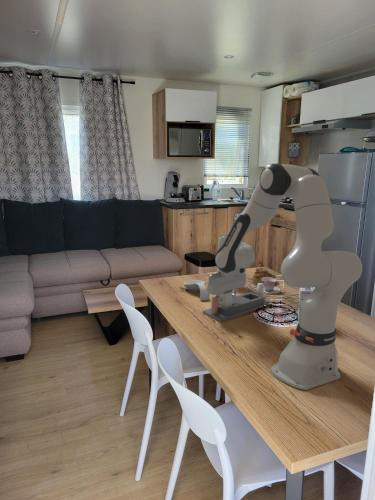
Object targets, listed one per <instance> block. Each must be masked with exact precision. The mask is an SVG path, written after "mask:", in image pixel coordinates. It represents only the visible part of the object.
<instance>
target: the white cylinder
mask: <svg viewBox="0 0 375 500" xmlns="http://www.w3.org/2000/svg"><path fill="white" fill-rule="evenodd" d="M232 293H233V290H229V291H226V292H223V293H221V295H220V297H221V298H223V300H222V302H219V305H220V306H222V307H224V308H227V307H230V306H232Z"/></svg>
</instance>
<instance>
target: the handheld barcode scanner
mask: <svg viewBox="0 0 375 500" xmlns="http://www.w3.org/2000/svg"><path fill="white" fill-rule="evenodd" d="M206 285H207V283H206V281H204V280H198V279H197V280H196V279H195V280H188V281H184V283H183V286H184V287H185V288H186V289H187V290H189V291H190V290H191V291H190V292H199V301H200V300H204V301H209V300H210V297H209V296H210V294H209V293H208V292H207V287H206ZM199 290H200V291H199Z"/></svg>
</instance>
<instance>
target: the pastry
mask: <svg viewBox="0 0 375 500" xmlns="http://www.w3.org/2000/svg"><path fill="white" fill-rule="evenodd" d="M264 277H271V278H275V279H276V280H277V278H276V275H275V274H272V273H271V272H269V270H268V271H267V270H266V269H265V268H263V267H257V268H256V269H255V271H254V274H253V275H252V278H251V279H252V283H253V284H254V285H256V286H257V284H258V283H263V281H262V278H264ZM276 284H277V282H276V283H275V285H276Z"/></svg>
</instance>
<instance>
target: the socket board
mask: <svg viewBox="0 0 375 500" xmlns="http://www.w3.org/2000/svg"><path fill="white" fill-rule="evenodd" d="M256 287H257V290H256V293H254V292H252V291H250V292H247V293H244V294H240V295H236V298H232V306H230V307H227V308H224V307H222V306H220V305H219V302H218V296H216V295H211V297H210V298H211V301H210V303H211V305H210V307H211V308H208V309H205V310H202V314H204V315H206V316H208V317H210V318H212V319H214V320H216V321H217V322H223V321H227V320H230V319H233V318H235V317H238V316H242V315H244V314H247V313H251V312H253V311H256V309H257V310H259V309H258V308H260V307H262V306H264V305H266V304H269V303H272V304H273V302H272V301H270V300H268V299H265V296H264V293H263V292H264V284H263V283H258V284H257V285H256ZM260 309H261V308H260Z"/></svg>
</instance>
